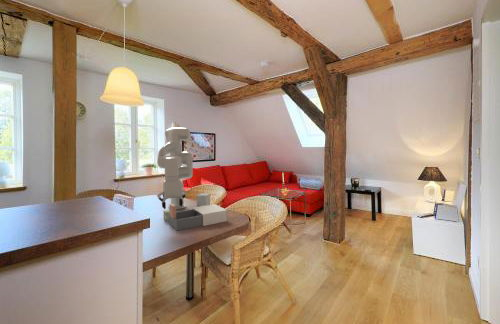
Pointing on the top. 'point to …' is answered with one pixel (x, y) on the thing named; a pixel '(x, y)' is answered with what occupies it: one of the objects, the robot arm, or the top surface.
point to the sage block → (166, 214)
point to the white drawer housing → (212, 214)
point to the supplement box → (203, 199)
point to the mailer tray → (184, 218)
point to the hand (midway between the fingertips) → (172, 207)
